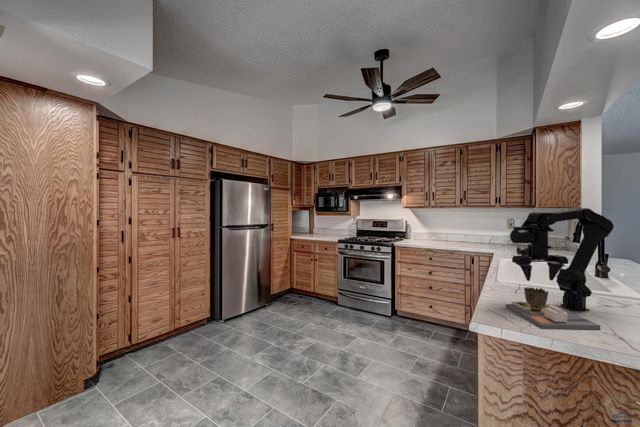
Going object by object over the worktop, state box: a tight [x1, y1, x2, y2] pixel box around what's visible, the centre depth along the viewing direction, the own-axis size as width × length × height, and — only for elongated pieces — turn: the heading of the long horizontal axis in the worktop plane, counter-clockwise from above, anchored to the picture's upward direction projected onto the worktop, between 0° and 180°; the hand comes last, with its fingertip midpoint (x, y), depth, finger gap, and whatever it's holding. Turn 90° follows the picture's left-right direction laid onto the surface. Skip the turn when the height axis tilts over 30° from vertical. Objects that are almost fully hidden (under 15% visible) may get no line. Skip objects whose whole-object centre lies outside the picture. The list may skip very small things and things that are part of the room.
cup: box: [523, 286, 549, 311], centre depth 107 cm, size 8×7×8 cm
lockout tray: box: [510, 301, 549, 316], centre depth 107 cm, size 12×12×1 cm
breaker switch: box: [544, 304, 567, 322], centre depth 98 cm, size 4×5×4 cm
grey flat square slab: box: [505, 303, 601, 331], centre depth 104 cm, size 19×20×2 cm
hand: (539, 280), depth 112 cm, fingers open, 9 cm apart
